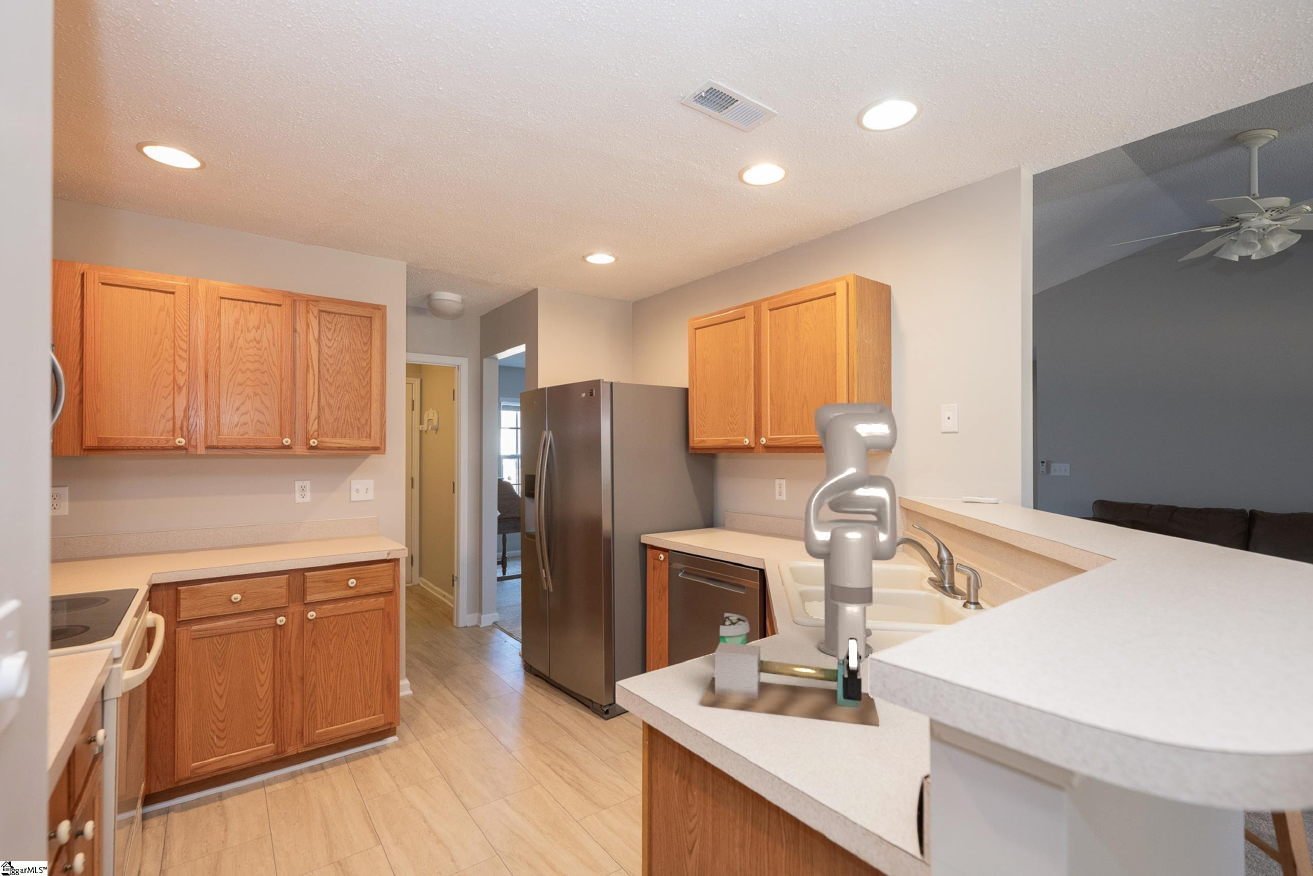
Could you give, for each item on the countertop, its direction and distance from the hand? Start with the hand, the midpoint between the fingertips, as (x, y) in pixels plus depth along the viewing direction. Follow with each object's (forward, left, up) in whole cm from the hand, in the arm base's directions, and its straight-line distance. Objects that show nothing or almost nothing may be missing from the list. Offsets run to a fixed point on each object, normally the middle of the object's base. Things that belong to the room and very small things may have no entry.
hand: (851, 694), depth 109 cm
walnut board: (+6, -10, -3) cm, 12 cm away
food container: (-3, -30, -3) cm, 30 cm away
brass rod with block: (+4, -7, -1) cm, 8 cm away
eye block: (+11, -18, -2) cm, 21 cm away
